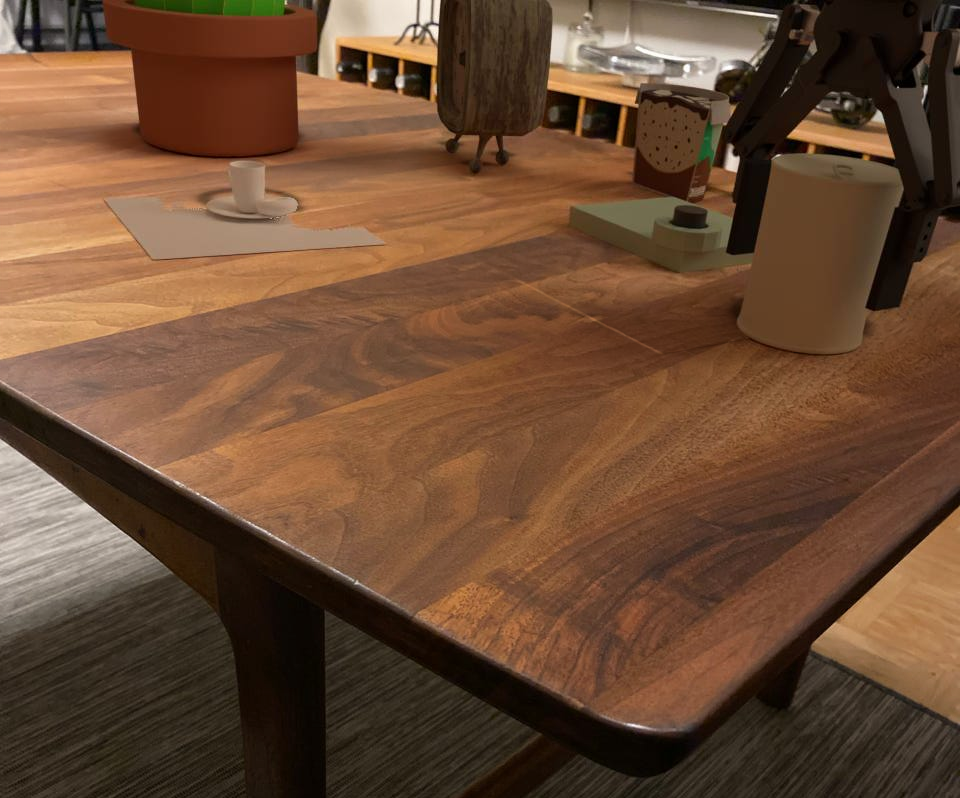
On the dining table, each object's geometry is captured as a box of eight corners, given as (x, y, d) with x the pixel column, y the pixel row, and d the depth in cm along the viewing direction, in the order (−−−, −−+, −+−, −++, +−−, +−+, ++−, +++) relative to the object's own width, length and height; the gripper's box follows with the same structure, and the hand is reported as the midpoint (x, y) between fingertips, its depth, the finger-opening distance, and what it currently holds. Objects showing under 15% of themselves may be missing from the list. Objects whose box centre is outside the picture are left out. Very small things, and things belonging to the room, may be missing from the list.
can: (740, 346, 74) (779, 166, 67) (732, 307, 81) (767, 140, 74) (871, 361, 73) (924, 180, 66) (851, 320, 81) (897, 153, 74)
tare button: (711, 230, 88) (714, 211, 87) (686, 233, 87) (690, 214, 86) (689, 222, 90) (692, 203, 89) (664, 225, 89) (667, 206, 88)
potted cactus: (244, 119, 132) (229, -124, 117) (355, 151, 120) (354, -113, 106) (84, 132, 119) (46, -139, 104) (192, 171, 107) (165, -130, 92)
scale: (792, 262, 93) (802, 221, 91) (678, 278, 87) (686, 234, 85) (670, 216, 105) (676, 179, 103) (560, 227, 98) (564, 188, 96)
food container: (739, 204, 111) (760, 100, 105) (696, 208, 108) (715, 102, 103) (665, 178, 119) (680, 81, 114) (623, 181, 117) (637, 82, 111)
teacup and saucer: (309, 223, 93) (308, 174, 91) (222, 228, 90) (218, 177, 87) (279, 199, 99) (277, 153, 97) (196, 203, 96) (192, 156, 94)
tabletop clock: (433, 150, 124) (443, -106, 109) (505, 152, 126) (524, -99, 111) (463, 178, 112) (479, -104, 98) (542, 179, 115) (568, -96, 100)
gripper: (713, -93, 69) (656, 236, 81) (1050, -66, 52) (915, 342, 65) (791, -84, 73) (725, 229, 85) (1129, -56, 56) (987, 328, 68)
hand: (807, 279), depth 75 cm, fingers open, 13 cm apart
